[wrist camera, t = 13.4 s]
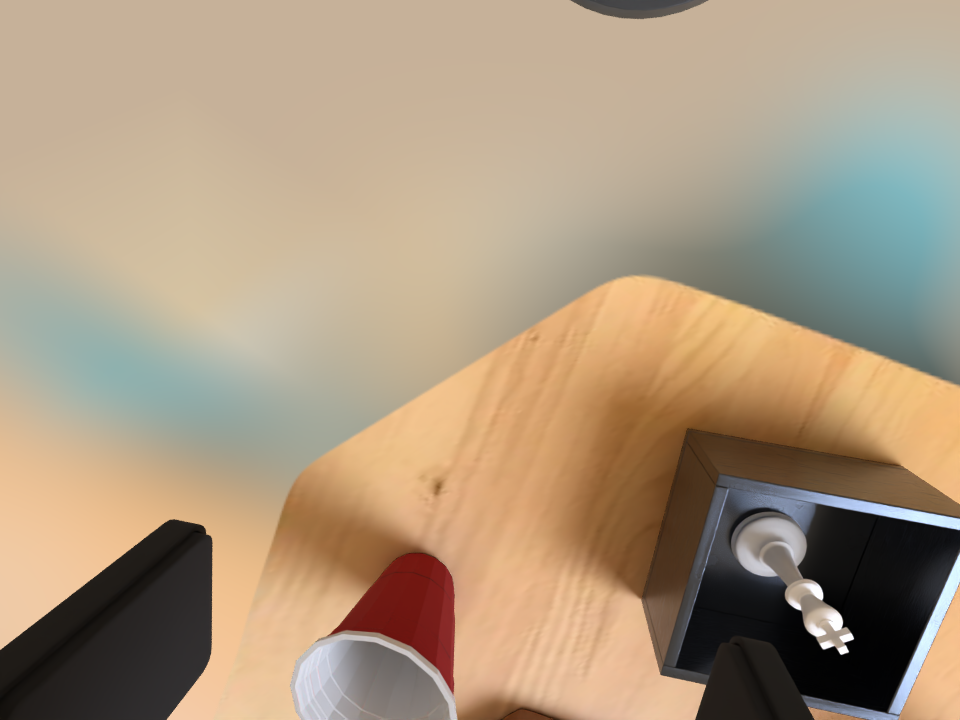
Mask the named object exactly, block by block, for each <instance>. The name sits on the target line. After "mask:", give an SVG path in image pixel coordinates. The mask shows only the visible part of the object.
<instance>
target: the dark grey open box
mask: <svg viewBox="0 0 960 720" xmlns="http://www.w3.org/2000/svg"><path fill="white" fill-rule="evenodd" d="M761 512H778V513H781V514H784V515H787V516H789V517H790V518H792V519H793V520H794V521H796V522H797V524H798V525H799V526H800V528H801V530H802V532H803V533H804V535H805V538H806V542H807V549H806V553H805V556H804V558H803V560H802V561H801V563H800V564H799V565H798V566H797V568H798V570H799V572H800V574H801V576H802V577H803V579H809V580H812V581H815V582H816V583H817V584H819V586H820V587H821V589H822V592H823V599H822V601H823V602H824V603H826V604H827V605H829V606H831V607H832V608H834V609H835V610H837V611H838V612H839V614H840V615H841V617H842V620H843V625H842V628H845V627H847V628H848V629H849V631H850V632H851V634H852V636H853V638H854V639H853V640H850V641H847V642H844V644H845V645H846V647H847V649H848V651H849V652H848V653H845V654H842V655H841V654H840V653H839V651H838V650H837V648H836V647H835V646H832V647H829V648H826V649H822V647H821V646H820V644H819V642H818V640H817V638H816V637H817V636H814V635H812V634H811V633H809V632H808V631H807V629H806V627H805V625H804V621H803V614H802V611H801V610H798V609H796V608H794V607H793V606H791V605H790V604H789V603H788V602H787V600H786V598H785V591H786V589H787V587H788V586H787V585H786V584H785V583H784V582H783V580H782V579H781V578H780V577H779V576H772V577H767V576H760V575H756V574H754V573H752V572H750V571H748V570H747V569H745V568H744V567H743V566H742V565H741V564H740V562H739V561H738V560H737V559H736V558H735V556H734V554H733V552H732V548H731V539H732V535H733V532H734V530H735V529H736V527H737V526H738V525H739V524H740V523H741V522H742V521H743V520H744V519H746V518H747V517H749V516H751V515H754V514H757V513H761ZM959 584H960V504H958V503H957V502H955V501H954V500H952V499H951V498H949V497H948V496H946V495H945V494H943V493H942V492H940V491H939V490H937V489H936V488H934V487H933V486H931V485H930V484H928V483H927V482H925V481H924V480H922V479H921V478H919V477H918V476H916V475H915V474H913V473H912V472H910V471H908V470H907V469H906V468H904V467H903V466H897V465H891V464H886V463H880V462H874V461H869V460H863V459H857V458H852V457H846V456H840V455H835V454H829V453H823V452H818V451H812V450H806V449H801V448H795V447H789V446H784V445H778V444H772V443H767V442H761V441H755V440H750V439H744V438H738V437H733V436H727V435H721V434H716V433H710V432H705V431H699V430H693V429H687V431H686V435H685V439H684V443H683V446H682V450H681V454H680V458H679V461H678V465H677V469H676V473H675V476H674V480H673V484H672V488H671V491H670V495H669V499H668V502H667V506H666V510H665V514H664V517H663V521H662V525H661V529H660V532H659V536H658V540H657V544H656V547H655V551H654V555H653V559H652V562H651V566H650V570H649V574H648V577H647V581H646V585H645V589H644V592H643V596H642V604H643V608H644V612H645V616H646V620H647V624H648V628H649V632H650V636H651V640H652V643H653V647H654V651H655V655H656V659H657V663H658V667H659V671H660V675H663V676H668V677H672V678H677V679H682V680H686V681H691V682H695V683H700V684H705V685H707V682H708V679H709V676H710V673H711V670H712V666H713V663H714V660H715V657H716V654H717V651H718V648H719V646H720V644H721V643H729V642H730V640H731V638H733V637H734V636H740V637H745V638H749V639H754V640H759V641H764V642H769V643H770V644H772V645H773V646H774V647H775V649H776V650H777V652H778V654H779V656H780V658H781V659H782V661H783V663H784V665H785V667H786V669H787V670H788V672H789V674H790V676H791V678H792V680H793V681H794V683H795V685H796V687H797V689H798V691H799V692H800V694H801V696H802V698H803V700H804V702H805V703H806V705H807V707H811V708H816V709H821V710H825V711H830V712H835V713H839V714H844V715H848V716H853V717H858V718H862V719H867V720H898V719H899V715H900V713H901V711H902V709H903V707H904V705H905V702H906V700H907V698H908V696H909V694H910V691H911V689H912V687H913V685H914V683H915V680H916V678H917V676H918V674H919V672H920V669H921V667H922V665H923V663H924V661H925V658H926V656H927V654H928V652H929V650H930V647H931V645H932V643H933V641H934V639H935V636H936V634H937V632H938V630H939V628H940V625H941V623H942V621H943V619H944V617H945V614H946V612H947V610H948V608H949V606H950V603H951V601H952V599H953V597H954V595H955V592H956V590H957V588H958V586H959ZM842 628H841V629H842Z"/></svg>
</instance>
